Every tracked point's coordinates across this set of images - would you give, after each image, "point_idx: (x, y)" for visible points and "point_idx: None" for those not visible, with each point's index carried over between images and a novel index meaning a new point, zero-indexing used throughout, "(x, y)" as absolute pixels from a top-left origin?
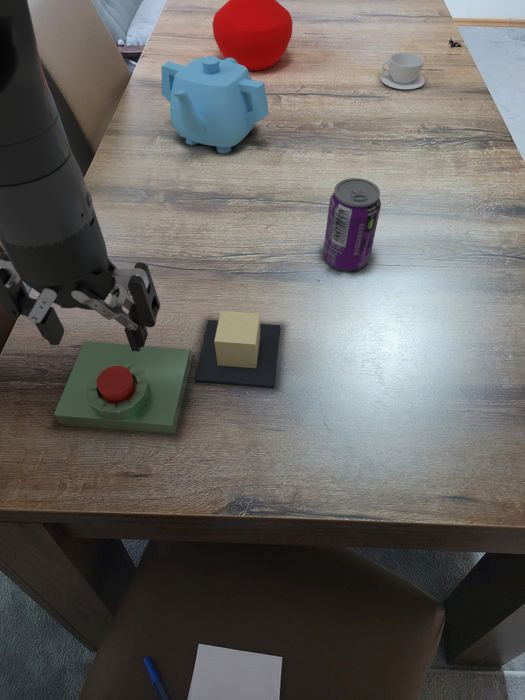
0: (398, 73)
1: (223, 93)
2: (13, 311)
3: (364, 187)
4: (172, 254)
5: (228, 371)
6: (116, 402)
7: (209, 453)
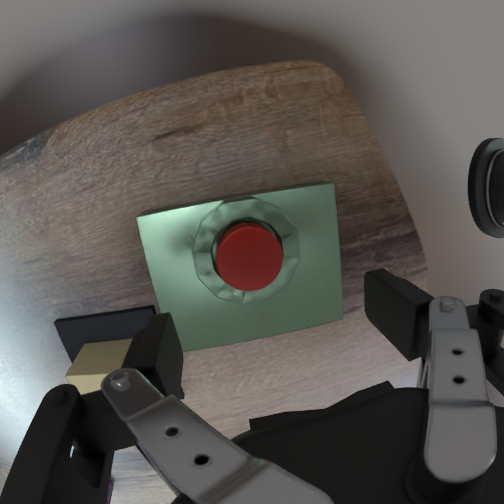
0: None
1: None
2: (498, 301)
3: None
4: None
5: (114, 332)
6: None
7: (86, 200)
